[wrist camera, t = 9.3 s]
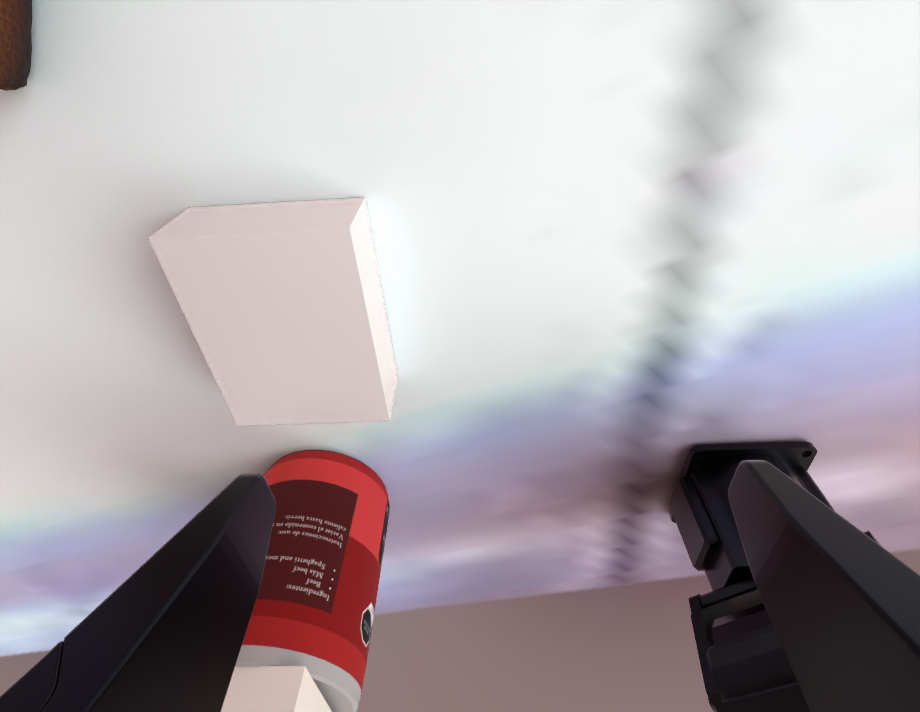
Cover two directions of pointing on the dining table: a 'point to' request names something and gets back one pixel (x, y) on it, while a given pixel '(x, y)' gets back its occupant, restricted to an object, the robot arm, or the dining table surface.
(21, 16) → the sunglasses case
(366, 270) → the pale pink chamfered block
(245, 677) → the cream box
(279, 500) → the canned food
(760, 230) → the dining table surface
